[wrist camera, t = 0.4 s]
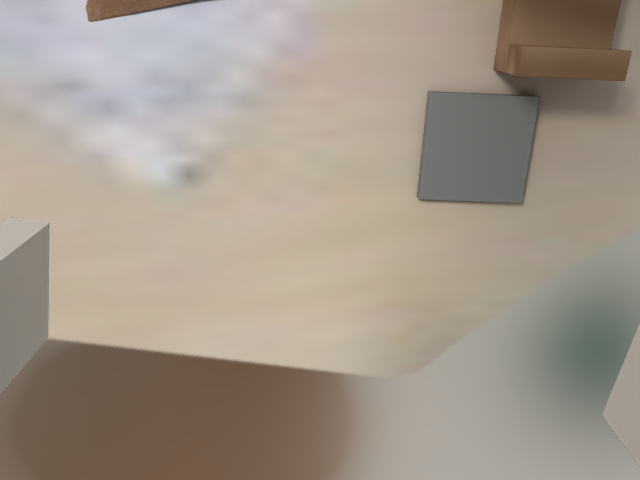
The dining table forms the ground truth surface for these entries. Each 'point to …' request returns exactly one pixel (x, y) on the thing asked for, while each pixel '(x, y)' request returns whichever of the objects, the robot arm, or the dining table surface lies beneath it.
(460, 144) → the mat
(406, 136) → the dining table surface
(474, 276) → the dining table surface
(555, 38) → the plank
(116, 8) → the wooden fragment
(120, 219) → the dining table surface
